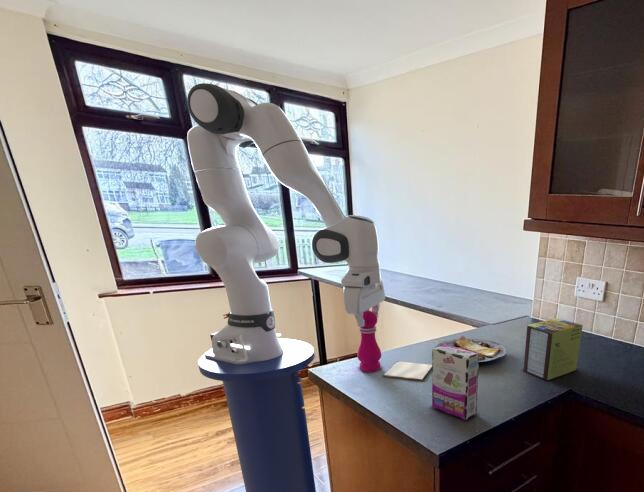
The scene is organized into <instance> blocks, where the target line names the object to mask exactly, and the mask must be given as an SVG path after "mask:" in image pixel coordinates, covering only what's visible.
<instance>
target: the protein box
mask: <svg viewBox="0 0 644 492" xmlns="http://www.w3.org/2000/svg"><path fill="white" fill-rule="evenodd" d="M583 327H584V325H583V324H581V323H576V322H573V321H570V320H565V319H562V318H558V317H556V318H555V317H554V318H552V319H547V320H541V321H538V322H534V323H530V324H527V325H526V333H525V334H526V335H525V346H524V356H523V368H522V370H523V371H524V372H525V373H528V374H531V375H533V376H535V377H538V378H540V379H542V380H544V381H550V380H554V379H556V378H558V377H561V376H564V375H566V374H569V373H572V372H575V371H577V369H578V368H577V367H578V360H579V354H580V346H581V340H582V334H583Z"/></svg>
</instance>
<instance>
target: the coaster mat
mask: <svg viewBox="0 0 644 492" xmlns="http://www.w3.org/2000/svg"><path fill="white" fill-rule="evenodd" d="M431 370H432V364H429V363H419V362H418V363H417V362H408V361H399V360H397V361H396V362H395V363H394V364H393V365H392V366H391V367H389V369H388V370H387V371H386V372H385V373H384V374H383V377H385V378H395V379H404V380H411V381H412V380H414V381H424V379H425V377H426V376H427V375H428V374H429V373H430V371H431Z"/></svg>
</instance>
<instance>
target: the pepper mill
mask: <svg viewBox="0 0 644 492" xmlns="http://www.w3.org/2000/svg"><path fill="white" fill-rule="evenodd" d="M363 319H364V320H365V326H363V327H358V329H359V330H358V332H359V333H360V343H359V346H358V349H357V353H356V354H357V355H356V357H357V359H358V361H359V370H360V371H362V372H365V373H371V372H376V371H379V370H380V369H381V362H380V360H381V358H382V351H381V348H380V347H379V344H378V342H377V339H376V332H377V326H376V325H377V323H378V318H377V316H376V314H375V313H374V312H372V310H370V309H368V310H366V311H364V312H363Z"/></svg>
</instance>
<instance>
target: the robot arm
mask: <svg viewBox="0 0 644 492" xmlns="http://www.w3.org/2000/svg"><path fill="white" fill-rule="evenodd" d="M186 105H187V109H188V112H189V115H190V117H191V118H192V120H193V121H194V122H195V123H196V124H197V125H194V126H193V127H191V128H190V129H189V130H188V131H187V136H186V139H187V147H188V153H189V157H190V161H191V166H192V170H193V172H194V176H195V178H196V182H197V185H198V189H199V191H200V193H201V197H202V200H203V202H204V204H205V205H206V206H207V207H208V208H209V209H210V210H212V211H213V212H215V213H216V215H218V217H219V218H220V219H221V221H222V222H223V223H224V225H217V226H213V227H210V228H207V229H205V230H202V231H200V232H199V233H198V234H197V236H196V238H195V240H194V245H195V251H196V254H197V255H198V257H199V258H200V259H201V261H202V262H203V263H204V264H206V265H207V266H209V267H210V268H212V269H213V270H214V272H215V273H216V274H217V275H218V276H219V278H220V279H221V282H222V283H223V285H224V288H225V292H226V296H227V300H228V305H229V310H230V311H229V312H228V313H226V314H223V315H222V316H223V319H227V324H226V325H224V327H222V328H221V329H219V330H218V331H217V332H213V333H210V334H209V336H210V340H211V348H210V349H209V350H207V351H205V353H204V354H205V357H206V358H210V359H215V360H219V361H224V362H228V363H233V364H237V365H241V364H246V363H251V362H259V361H266V360H270V359H273V358H276V357H279V356H280V355H282V354H283V353H284V350H283V349H282V347H281V344H280V342H279V339H280V338H279V337H281V336H282V334H281V333H277V330H276V316H275V311H274V309H273V308H272V303H271V295H270V288H269V285H268V284H267V282H265V280H263V279H261V278H260V277H259V275H257V272H256V271H255V268H254V264H259V263H264V262H266V261H268V260H270V259H272V258H274V257H275V256H276V255H277V254H278V252H279V251H280V250H279V249H280V242H279V238H278V236H277V235H276V233H275V232H274V231H273V230H272V229H271V228H269V227H268V226H267V225H266V223H264V221H263V220H262V219H261V217H260V216H259V214H258V212H257V211H256V209H255V208H254V205H253V204H252V201H251V199H250V196H249V194H248V190H247V187H246V183H245V180H244V177H243V173H242V169H241V166H240V164H239V160H238V156H237V155H238V154H237V149H238V147H240V148H243V149H246V148H248V147H249V146H251V145H252V144H255V146H256V147H257V149H258V151H259V153H260V156H261V157H262V159H263V161H264V163H265V165H266V166H267V168H268V170H269V172H271V174H272V175H273V177H274V178H275V179H276V180H277V181H278V182H279V183H280V184H281V185H283V186H285V187H286V188H288V189H290V190H292V191H294V192H297V193H298V194H300V195H301V196H303V197H304V198H306V199H307V200H308V201H309V202H310V203H311V204H312V205H313V207H314V209H315V210H316V212H317V213H318V215H319V217H320V218H321V221H322V222H323V223H324V225H325V227H323V228H320V229H318V230H316V231H315V232H314V233H313V235H312V237H311V240H310V245H311V250H312V252H313V254H314V256H315V257H316V258H317V259H318V260H319V261H321V262H322V263H326V264H337V263H342V262H346V263H347V270H346V272H345V274H344V275H343V276H342V277H341V279H340V284H341V286H342V287H343V290H342V291H343V292H342V296H343V303H344V311H346V314H348V315H353V316H354V318H355V320H356V323H357V324H356V325H357V327H358V328H359V327H363V326H365V320H364V319H363V312H364V311H366V310H368V309H369V310H370V309H371V311H372V312H374V313H375V314H376V316H377V319H378V318H379V310H380V304H381V303H383V302H385V299H386V290H385V289H386V288H385V282H384V279H383V278H382V273H381V263H380V260H379V251H380V245H379V235H378V230H377V226H376V223H375V222H374V221H373V220H372V219H371V218H369V217H368V216H367V217H366V216H362V215H356V214H349V215H345V213H344V212H343V210H342V208H341V207H340V205H339V204H338V202H337V200H336V199H335V197H334V195H333V193H332V191H331V190H330V188H329V186H328V184H327V183H326V182H325V180H324V179H323V177H322V175H321V174H320V172H319V170H318V168H317V167H316V165H315V163H314V162H313V158H311V156H310V153H309V152H308V150H307V148H306V146H305V144H304V142H303V140H302V138H301V136H300V135H299V133H298V131H297V129H296V128H295V126H294V125H293V123H292V121H291V120H290V119H289V117H288V116H287V114H286V112H284V111H283V109H282V108H281V107H280V106H279V105H278V104H275V103H272V102H261V103H257V102H256V101H255V100H253V99H251V98H248V97H246V96H245V95H243V94H241V93H239V92H237V91H235V90H231V89H227V88H225V87H222V86H220V85H217V84H213V83H208V82H205V83H197V84H195V85H193V86H192V87H191V88H190V89H189V91H188V94H187V98H186ZM278 338H279V339H278Z"/></svg>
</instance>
